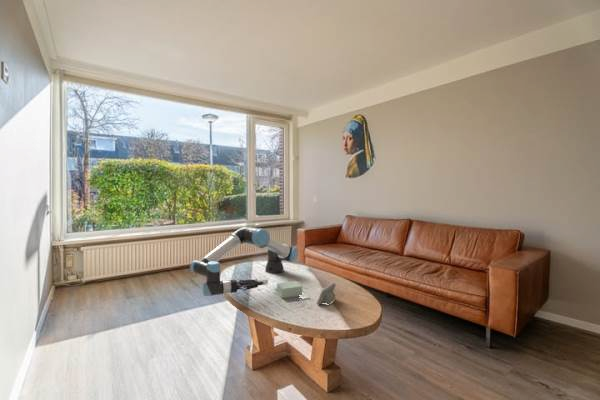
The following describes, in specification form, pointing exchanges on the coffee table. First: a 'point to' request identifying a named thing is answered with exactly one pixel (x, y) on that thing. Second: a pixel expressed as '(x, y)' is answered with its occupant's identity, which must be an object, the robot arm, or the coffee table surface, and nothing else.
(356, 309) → the coffee table surface
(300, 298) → the felt pad
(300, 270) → the coffee table surface
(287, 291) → the sage block
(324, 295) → the digital clock
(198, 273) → the robot arm
